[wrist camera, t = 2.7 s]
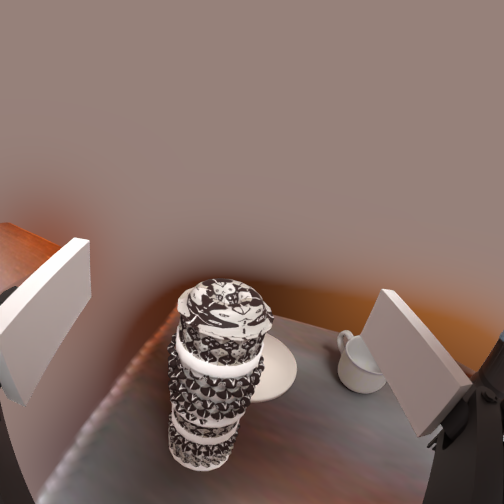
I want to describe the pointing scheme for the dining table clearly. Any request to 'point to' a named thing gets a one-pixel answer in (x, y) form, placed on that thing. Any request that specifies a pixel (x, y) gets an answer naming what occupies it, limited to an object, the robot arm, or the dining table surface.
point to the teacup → (358, 365)
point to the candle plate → (274, 371)
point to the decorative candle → (214, 369)
